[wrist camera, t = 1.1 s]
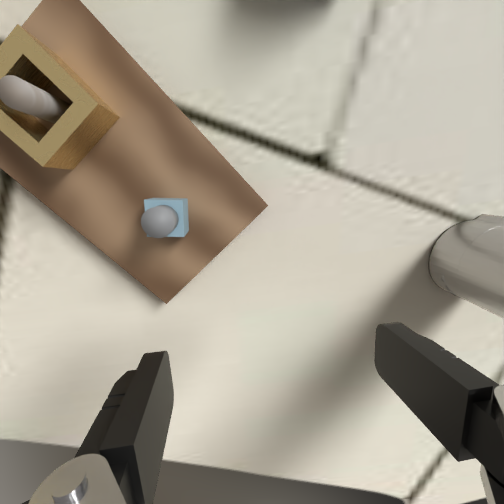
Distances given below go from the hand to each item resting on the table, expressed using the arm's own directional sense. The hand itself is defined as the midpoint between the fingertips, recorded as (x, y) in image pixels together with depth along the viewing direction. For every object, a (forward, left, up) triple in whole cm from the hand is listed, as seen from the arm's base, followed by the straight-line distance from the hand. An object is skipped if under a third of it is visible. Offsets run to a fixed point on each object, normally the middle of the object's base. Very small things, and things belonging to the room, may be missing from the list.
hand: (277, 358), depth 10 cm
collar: (+3, -19, -18) cm, 26 cm away
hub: (+3, -7, -18) cm, 19 cm away
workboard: (+3, -13, -20) cm, 24 cm away
